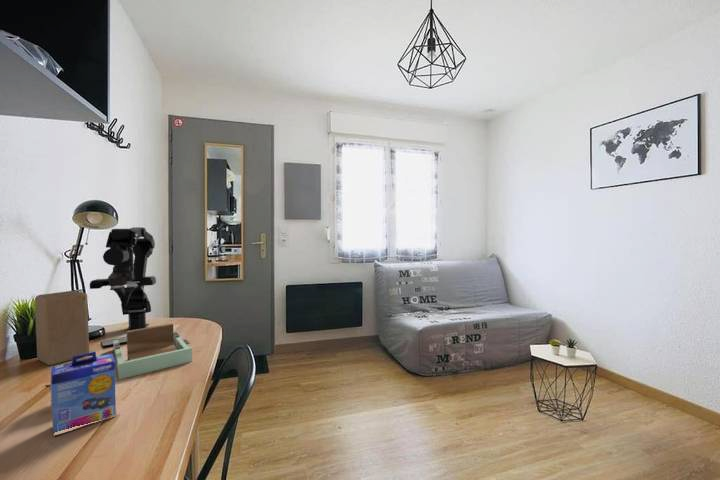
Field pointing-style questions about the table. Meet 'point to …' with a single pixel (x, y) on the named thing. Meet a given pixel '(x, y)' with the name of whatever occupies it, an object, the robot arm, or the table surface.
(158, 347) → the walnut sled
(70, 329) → the wooden block
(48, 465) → the table surface
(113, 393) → the ink cartridge box
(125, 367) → the pale green tray
